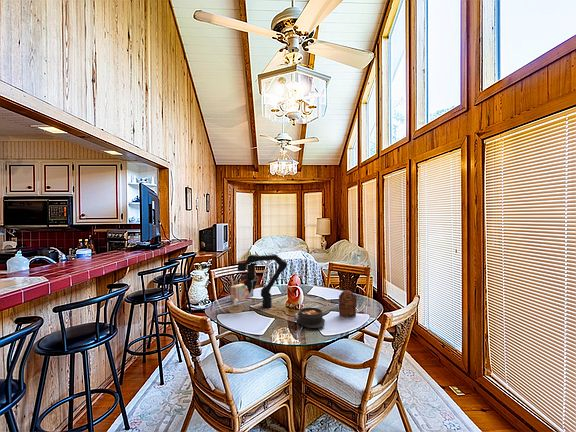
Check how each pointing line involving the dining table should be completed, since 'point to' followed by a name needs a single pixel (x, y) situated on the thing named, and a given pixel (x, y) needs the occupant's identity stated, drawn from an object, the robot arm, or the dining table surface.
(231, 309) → the wooden bead
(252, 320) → the dining table surface
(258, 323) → the dining table surface
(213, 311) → the dining table surface
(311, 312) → the casserole
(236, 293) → the stack of blocks
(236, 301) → the steel rod
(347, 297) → the wooden figurine
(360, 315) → the dining table surface
